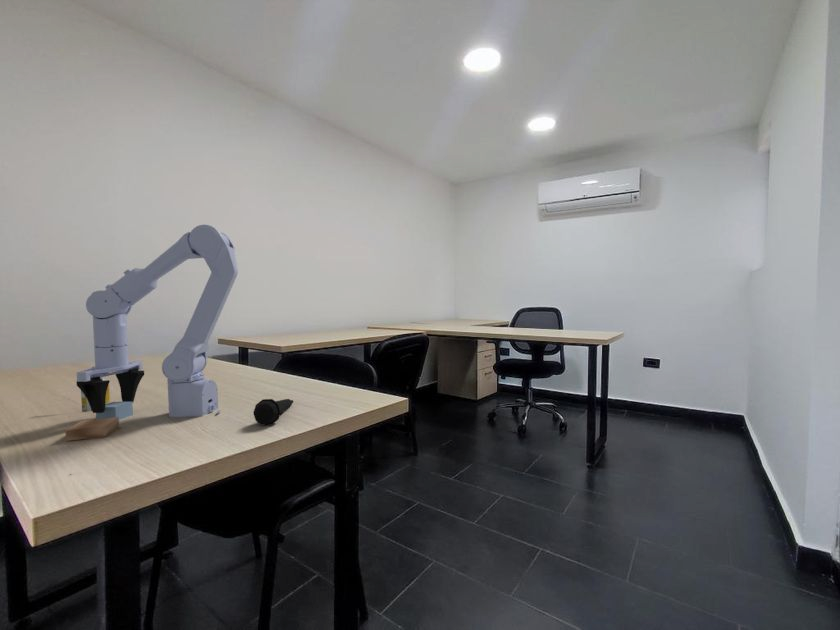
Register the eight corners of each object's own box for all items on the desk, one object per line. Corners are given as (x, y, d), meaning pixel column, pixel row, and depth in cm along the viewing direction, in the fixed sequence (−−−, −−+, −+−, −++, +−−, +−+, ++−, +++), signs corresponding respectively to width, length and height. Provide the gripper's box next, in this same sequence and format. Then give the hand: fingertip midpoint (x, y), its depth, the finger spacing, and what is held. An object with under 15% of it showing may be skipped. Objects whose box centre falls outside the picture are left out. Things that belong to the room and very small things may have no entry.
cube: (133, 421, 87) (132, 401, 87) (116, 427, 82) (115, 407, 82) (114, 421, 87) (113, 401, 87) (96, 427, 83) (95, 407, 82)
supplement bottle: (115, 407, 99) (113, 370, 98) (101, 413, 93) (99, 374, 93) (91, 409, 98) (89, 371, 97) (76, 415, 92) (74, 375, 92)
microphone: (285, 415, 99) (253, 432, 79) (278, 394, 100) (245, 405, 80) (305, 408, 100) (278, 423, 80) (298, 387, 100) (270, 396, 80)
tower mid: (119, 426, 78) (118, 417, 78) (105, 436, 72) (105, 426, 72) (82, 430, 76) (82, 420, 76) (66, 440, 70) (65, 430, 70)
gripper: (121, 342, 92) (124, 399, 92) (61, 350, 77) (64, 417, 78) (149, 342, 91) (152, 399, 92) (94, 350, 77) (97, 417, 77)
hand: (114, 407), depth 85 cm, fingers open, 7 cm apart
